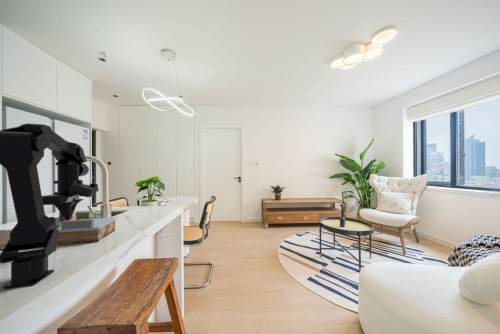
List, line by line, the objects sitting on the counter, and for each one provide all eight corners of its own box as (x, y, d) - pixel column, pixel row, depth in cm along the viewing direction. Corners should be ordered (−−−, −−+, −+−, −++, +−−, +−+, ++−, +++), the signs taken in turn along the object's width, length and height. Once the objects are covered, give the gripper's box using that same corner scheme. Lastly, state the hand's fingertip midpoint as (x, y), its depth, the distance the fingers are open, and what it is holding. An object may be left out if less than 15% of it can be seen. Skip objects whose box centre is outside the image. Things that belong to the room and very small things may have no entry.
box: (97, 241, 74) (97, 229, 74) (56, 245, 71) (56, 232, 71) (115, 230, 88) (115, 220, 88) (80, 232, 84) (80, 222, 84)
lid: (98, 229, 74) (98, 219, 74) (53, 232, 70) (53, 222, 70) (116, 219, 88) (116, 211, 88) (80, 221, 85) (80, 213, 85)
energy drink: (64, 234, 83) (64, 207, 83) (55, 233, 84) (55, 207, 84) (78, 230, 88) (78, 205, 88) (69, 229, 89) (69, 205, 89)
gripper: (76, 178, 60) (76, 225, 60) (106, 176, 79) (106, 212, 79) (35, 179, 58) (35, 228, 58) (76, 176, 76) (76, 213, 76)
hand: (68, 219), depth 68 cm, fingers closed
